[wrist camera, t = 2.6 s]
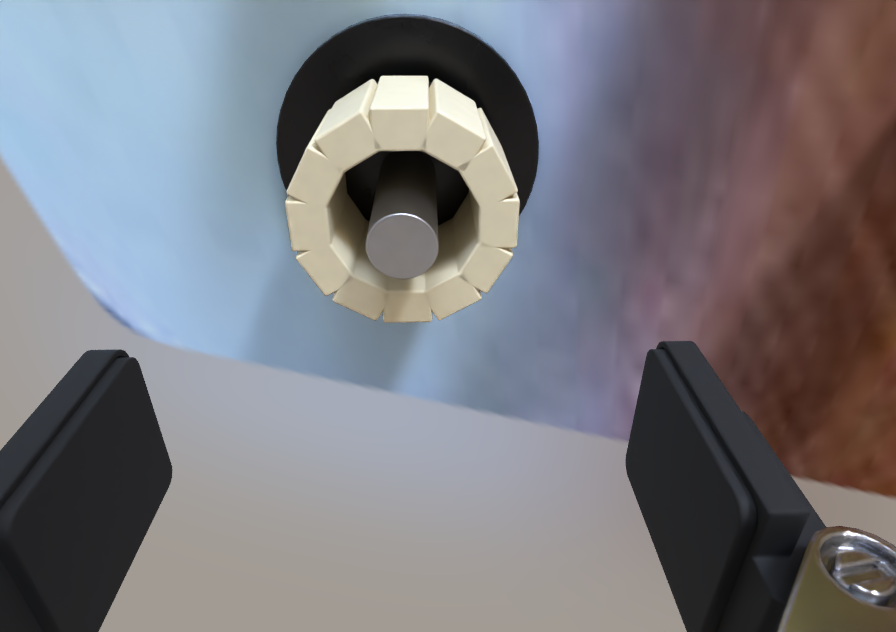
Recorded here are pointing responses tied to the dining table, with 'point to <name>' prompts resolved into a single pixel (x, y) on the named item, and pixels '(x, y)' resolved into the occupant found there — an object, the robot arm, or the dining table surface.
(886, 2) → the dining table surface
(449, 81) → the tape stand
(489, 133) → the tape roll
